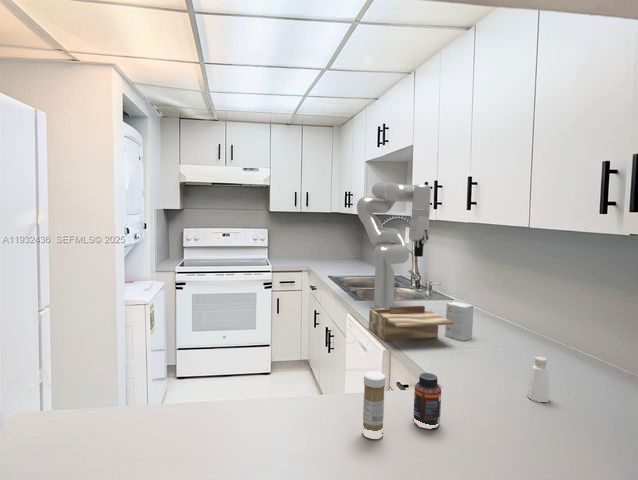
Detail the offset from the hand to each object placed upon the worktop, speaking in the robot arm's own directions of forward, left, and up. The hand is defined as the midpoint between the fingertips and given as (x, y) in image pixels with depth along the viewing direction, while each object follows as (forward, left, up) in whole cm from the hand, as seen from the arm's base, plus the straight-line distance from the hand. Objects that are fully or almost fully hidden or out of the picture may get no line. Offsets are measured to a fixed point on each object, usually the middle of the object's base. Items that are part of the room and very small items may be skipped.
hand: (418, 256), depth 178 cm
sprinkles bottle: (+81, -52, -29) cm, 101 cm away
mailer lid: (+24, -13, -21) cm, 34 cm away
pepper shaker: (+73, -2, -29) cm, 79 cm away
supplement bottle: (+79, -38, -29) cm, 92 cm away
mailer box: (+14, -13, -29) cm, 35 cm away
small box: (+22, +7, -29) cm, 37 cm away
